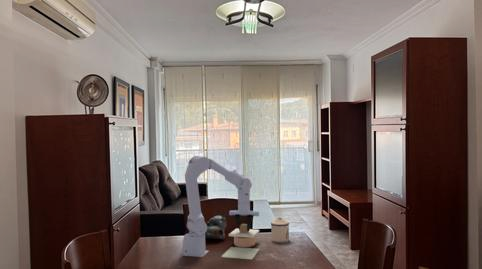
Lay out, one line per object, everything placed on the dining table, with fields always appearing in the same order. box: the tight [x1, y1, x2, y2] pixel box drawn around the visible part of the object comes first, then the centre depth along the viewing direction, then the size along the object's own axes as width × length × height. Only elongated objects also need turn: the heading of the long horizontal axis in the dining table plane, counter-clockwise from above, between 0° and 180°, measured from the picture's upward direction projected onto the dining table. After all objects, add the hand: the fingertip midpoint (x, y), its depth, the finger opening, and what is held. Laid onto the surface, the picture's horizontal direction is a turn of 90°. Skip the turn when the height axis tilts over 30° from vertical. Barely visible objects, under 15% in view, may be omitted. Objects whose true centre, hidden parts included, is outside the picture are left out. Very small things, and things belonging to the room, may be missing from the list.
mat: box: [220, 246, 261, 260], centre depth 162 cm, size 14×14×1 cm
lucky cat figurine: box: [205, 214, 227, 241], centre depth 187 cm, size 15×12×14 cm
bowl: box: [233, 235, 257, 248], centre depth 175 cm, size 10×10×4 cm
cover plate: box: [228, 223, 260, 238], centre depth 175 cm, size 12×12×4 cm
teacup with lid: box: [270, 216, 290, 243], centre depth 182 cm, size 12×9×12 cm
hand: (244, 230), depth 175 cm, fingers closed on cover plate, 3 cm apart
